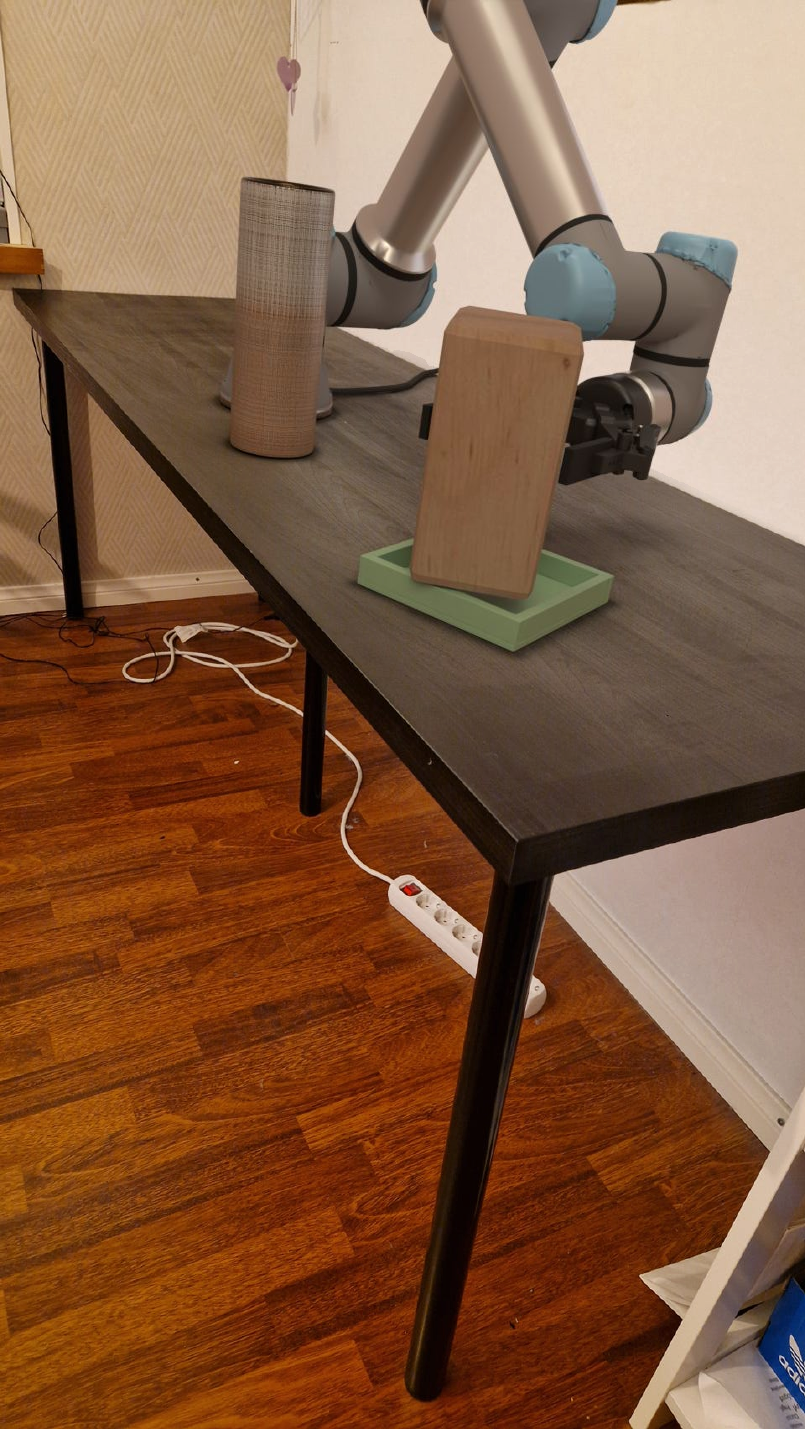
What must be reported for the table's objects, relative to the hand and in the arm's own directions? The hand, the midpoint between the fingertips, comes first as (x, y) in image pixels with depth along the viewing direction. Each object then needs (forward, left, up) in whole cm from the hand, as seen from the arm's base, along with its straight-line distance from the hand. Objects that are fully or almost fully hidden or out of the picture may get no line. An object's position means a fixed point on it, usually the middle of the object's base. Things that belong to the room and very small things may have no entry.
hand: (491, 443), depth 75 cm
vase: (-18, -41, -14) cm, 47 cm away
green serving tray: (-3, 0, -14) cm, 14 cm away
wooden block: (-1, 0, -11) cm, 11 cm away
